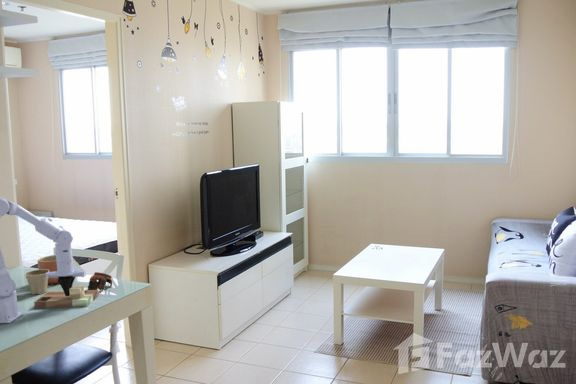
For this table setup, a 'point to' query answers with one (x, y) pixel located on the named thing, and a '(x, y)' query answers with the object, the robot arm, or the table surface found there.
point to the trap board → (65, 299)
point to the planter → (49, 266)
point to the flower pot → (37, 281)
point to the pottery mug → (99, 281)
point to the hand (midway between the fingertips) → (68, 295)
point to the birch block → (77, 292)
